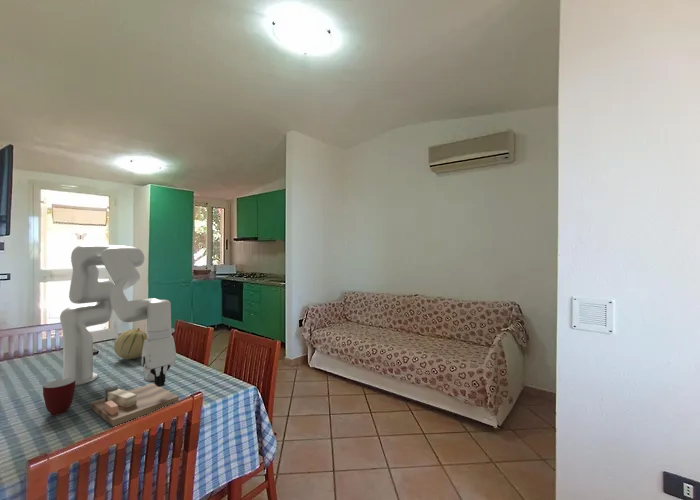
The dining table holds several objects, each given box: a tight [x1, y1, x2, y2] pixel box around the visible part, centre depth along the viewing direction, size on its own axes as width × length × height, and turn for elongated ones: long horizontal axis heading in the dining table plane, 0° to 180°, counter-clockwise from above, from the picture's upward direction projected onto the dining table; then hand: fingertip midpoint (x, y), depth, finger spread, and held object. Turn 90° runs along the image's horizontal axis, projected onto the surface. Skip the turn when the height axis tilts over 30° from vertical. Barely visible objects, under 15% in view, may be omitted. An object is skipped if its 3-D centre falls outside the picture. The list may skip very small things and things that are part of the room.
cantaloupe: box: [113, 327, 147, 360], centre depth 164 cm, size 15×15×15 cm
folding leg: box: [104, 386, 137, 408], centre depth 111 cm, size 14×4×4 cm, turn 64°
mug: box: [42, 378, 76, 416], centre depth 109 cm, size 10×8×10 cm
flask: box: [143, 367, 160, 382], centre depth 138 cm, size 7×7×10 cm
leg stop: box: [105, 401, 118, 415], centre depth 105 cm, size 6×2×2 cm, turn 54°
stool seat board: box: [90, 382, 180, 427], centre depth 114 cm, size 20×20×2 cm
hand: (160, 385), depth 116 cm, fingers closed
